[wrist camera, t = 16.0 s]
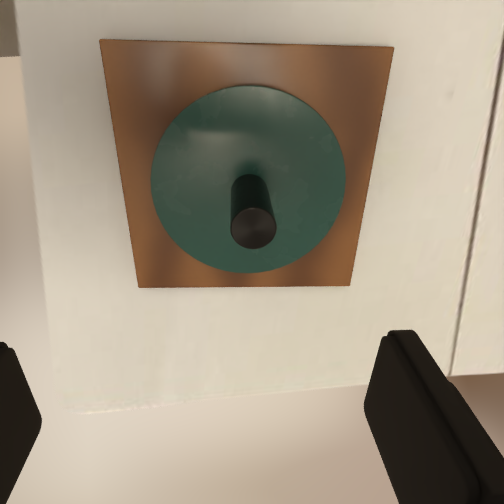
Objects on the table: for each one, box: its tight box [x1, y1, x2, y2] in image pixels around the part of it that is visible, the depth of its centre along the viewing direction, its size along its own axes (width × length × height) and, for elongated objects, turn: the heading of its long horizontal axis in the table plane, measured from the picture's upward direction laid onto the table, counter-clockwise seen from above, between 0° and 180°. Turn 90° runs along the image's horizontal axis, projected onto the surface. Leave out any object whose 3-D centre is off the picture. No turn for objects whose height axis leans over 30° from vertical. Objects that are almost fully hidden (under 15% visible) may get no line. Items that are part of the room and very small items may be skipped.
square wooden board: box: [99, 39, 394, 288], centre depth 27 cm, size 18×18×1 cm
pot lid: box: [150, 85, 346, 273], centre depth 23 cm, size 14×14×7 cm
